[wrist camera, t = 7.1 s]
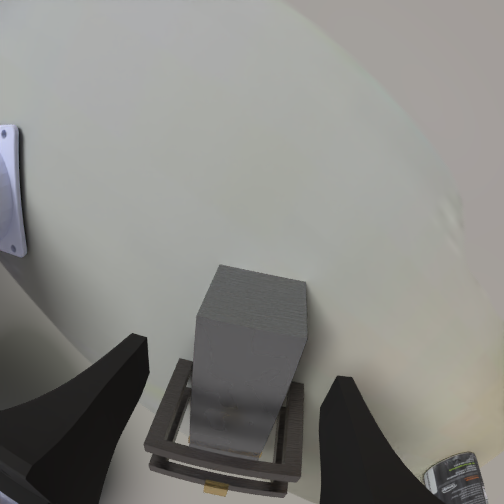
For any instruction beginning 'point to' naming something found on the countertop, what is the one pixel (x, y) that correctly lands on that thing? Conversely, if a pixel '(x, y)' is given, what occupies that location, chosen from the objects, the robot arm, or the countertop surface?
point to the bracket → (220, 462)
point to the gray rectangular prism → (244, 359)
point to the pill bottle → (457, 480)
